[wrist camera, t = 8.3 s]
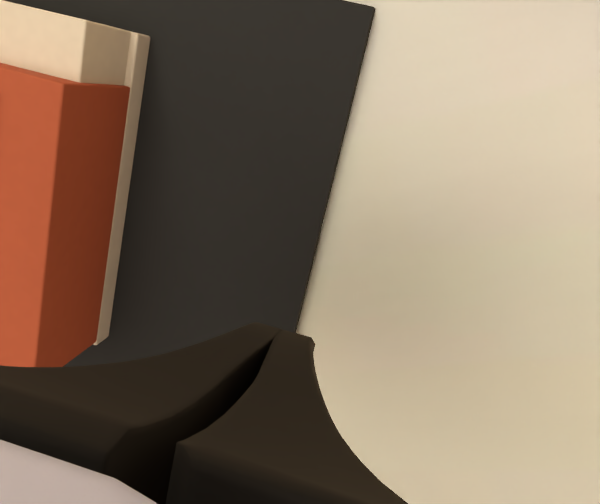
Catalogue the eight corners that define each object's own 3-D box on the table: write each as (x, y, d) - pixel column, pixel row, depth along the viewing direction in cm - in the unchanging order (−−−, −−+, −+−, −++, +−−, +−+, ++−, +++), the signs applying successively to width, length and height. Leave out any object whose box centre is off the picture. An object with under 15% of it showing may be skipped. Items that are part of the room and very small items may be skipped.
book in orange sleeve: (28, 397, 19) (-116, 350, 19) (109, 336, 24) (-9, 300, 24) (65, 14, 15) (-111, -28, 16) (151, 36, 20) (13, 3, 21)
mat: (265, 456, 24) (262, 462, 24) (-66, 348, 26) (-73, 351, 26) (375, 9, 19) (374, 7, 19) (-48, -84, 21) (-56, -87, 21)
